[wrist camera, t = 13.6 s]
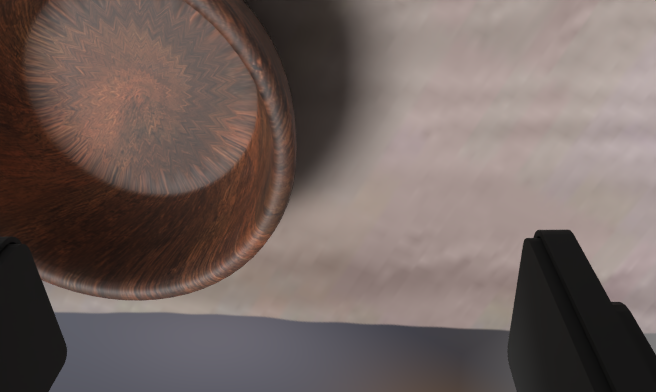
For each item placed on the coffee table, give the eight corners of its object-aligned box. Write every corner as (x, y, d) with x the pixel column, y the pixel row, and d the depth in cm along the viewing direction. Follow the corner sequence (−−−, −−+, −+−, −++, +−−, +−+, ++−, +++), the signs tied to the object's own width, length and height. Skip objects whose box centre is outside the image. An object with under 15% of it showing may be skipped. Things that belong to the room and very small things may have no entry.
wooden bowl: (375, 100, 44) (379, 163, 36) (171, 272, 54) (134, 354, 45) (107, -183, 36) (25, -194, 27) (-79, 80, 45) (-185, 136, 36)
